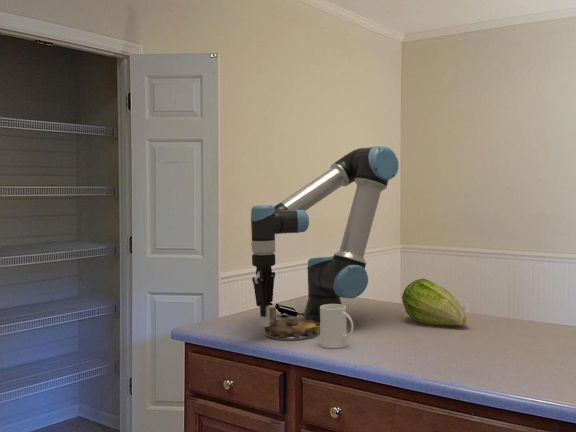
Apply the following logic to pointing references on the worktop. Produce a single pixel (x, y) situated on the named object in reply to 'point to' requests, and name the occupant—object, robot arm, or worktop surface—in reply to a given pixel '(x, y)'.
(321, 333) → the mug
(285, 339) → the base plate
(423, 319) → the lettuce
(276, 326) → the sprocket
